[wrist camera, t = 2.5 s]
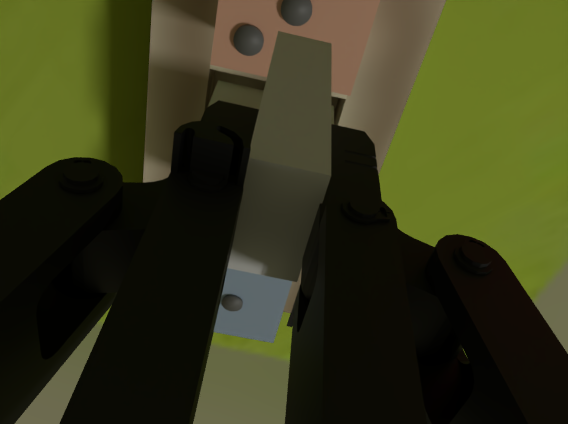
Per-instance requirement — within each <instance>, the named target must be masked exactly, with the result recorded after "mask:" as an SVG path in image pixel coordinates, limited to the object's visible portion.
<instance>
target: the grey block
mask: <svg viewBox="0 0 568 424" xmlns="http://www.w3.org/2000/svg"><path fill="white" fill-rule="evenodd" d="M291 284H292V281H288V280H283V279H278V278H274V277H269V276H264V275H259V274H254V273H249V272H244V271H239V270H234V269H229V268H227V272H226V277H225V282H224V287H223V292H222V296H221V301H220V305H219V310H218V314H217V319H216V323H215V327H214V332H217V333H223V334H228V335H233V336H239V337H244V338H249V339H255V340H260V341H266V342H271V343H273V342H274V339H275V336H276V332H277V329H278V326H279V323H280V320H281V316H282V313H283V310H284V307H285V304H286V300H287V297H288V294H289V291H290V288H291Z"/></svg>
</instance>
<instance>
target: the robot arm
mask: <svg viewBox="0 0 568 424" xmlns="http://www.w3.org/2000/svg"><path fill="white" fill-rule="evenodd" d="M331 79H332V43H327V42H323V41H319V40H315V39H310V38H306V37H302V36H298V35H293V34H289V33H285V32H281V31H278V34H277V38H276V42H275V47H274V51H273V55H272V59H271V63H270V67H269V71H268V75H267V79H266V83H265V88H264V92H263V96H262V100H261V104H260V108H259V109H256V108H251V107H247V106H242V105H238V104H233V103H229V102H224V101H220V100H218V101H217V102H215V103H214V104H212V105H210V106H209V107H207V108H206V109H205V111H204V114H203V116H202V118H201V121H192V122H189V123H186V124H183V125H181V126H180V127H179V128H178V129H177V130H176V131H175V132H174V138H173V149H172V160H171V172H170V174H169V176H168V178H165V179H163V180H159V181H154V182H143V183H123V181H122V175H121V173H120V172H119V171H118V170H117V168H116V167H114V166H112V165H110V164H109V163H107V162H105V161H102V160H97V159H93V158H82V157H80V158H78V157H74V158H69V159H64V160H59V161H57V162H55V163H53V164H51V165H49V166H47V167H45V168H44V169H42V170H41V171H40V172H38V173H37V174H36V175H34V176H33V177H31V178H30V179H29V180H27V181H26V182H24V183H23V184H22V185H20V186H19V187H18V188H16V189H15V190H13V191H12V192H11V193H9V194H8V195H6V196H5V197H4V198H2V199H1V200H0V424H14V423H15V422H16V421H17V420H18V418H19V417H20V416H21V415H22V414H23V413H24V411H25V410H26V409H27V408H28V406H29V405H30V404H31V403H32V402H33V400H34V399H35V398H36V396H37V395H38V394H39V393H40V392H41V391H42V389H43V388H44V387H45V386H46V384H47V383H48V382H49V381H50V380H51V378H52V377H53V376H54V375H55V373H56V372H57V371H58V370H59V368H60V367H61V366H62V365H63V364H64V362H65V361H66V360H67V359H68V358H69V356H70V355H71V354H72V353H73V351H74V350H75V349H76V348H77V346H78V345H79V344H80V343H81V341H83V339H84V338H85V337H86V336H87V334H88V333H89V332H90V331H91V329H92V328H93V327H94V326H95V325H96V323H97V322H98V321H99V320H100V319H101V317H102V316H103V315H104V314H105V312H106V311H107V310H108V309H109V308H110V306H111V305H112V306H111V308H110V310H109V313H108V315H107V317H106V319H105V322H104V324H103V326H102V329H101V331H100V333H99V335H98V338H97V340H96V342H95V345H94V347H93V349H92V352H91V353H90V356H89V358H88V360H87V363H86V365H85V367H84V369H83V372H82V374H81V376H80V378H79V381H78V383H77V385H76V387H75V390H74V392H73V394H72V397H71V399H70V401H69V403H68V406H67V408H66V410H65V412H64V415H63V417H62V419H61V421H60V424H193V421H194V417H195V412H196V408H197V403H198V399H199V394H200V390H201V385H202V381H203V376H204V372H205V368H206V363H207V359H208V354H209V350H210V345H211V341H212V336H213V332H214V327H215V323H216V319H217V314H218V310H219V305H220V301H221V296H222V292H223V287H224V282H225V277H226V272H227V268H229V269H234V270H239V271H244V272H249V273H254V274H259V275H264V276H269V277H274V278H278V279H283V280H288V281H293V282H297V281H298V278H299V275H300V271H301V268H302V272H301V284H300V287H299V290H298V293H297V296H296V299H295V302H294V305H293V308H292V311H291V314H290V317H289V320H288V323H287V326H290V327H292V326H293V329H292V342H291V354H290V368H289V379H288V392H287V404H286V417H285V424H568V354H567V352H566V351H565V349H564V348H563V346H562V345H561V343H560V342H559V340H558V339H557V337H556V336H555V334H554V333H553V331H552V330H551V328H550V327H549V325H548V324H547V322H546V321H545V320H544V318H543V316H542V315H541V314H540V312H539V310H538V309H537V307H536V306H535V304H534V303H533V302H532V300H531V299H530V297H529V296H528V294H527V293H526V291H525V290H524V288H523V287H522V285H521V284H520V282H519V281H518V279H517V278H516V276H515V275H514V273H513V272H512V270H511V269H510V267H509V266H508V264H507V263H506V261H505V260H504V259H503V258H502V257H501V256H500V255H499V253H498V252H497V251H496V250H494V249H493V248H491V247H490V246H488V245H487V244H485V243H484V242H482V241H480V240H477V239H475V238H472V237H469V236H464V235H458V234H456V235H446V236H445V237H443V238H441V239H440V240H439V241H438V243H437V244H436V246H435V247H433V246H430V245H428V244H426V243H423V242H421V241H419V240H417V239H414V238H412V237H411V236H409V235H407V234H405V233H403V232H402V231H400V230H399V229H398V228H397V222H396V218H395V216H394V213H393V211H392V210H391V209H390V208H389V207H388V206H387V205H386V204H385V203H384V202H383V201H382V199H381V191H380V183H379V175H378V170H377V159H376V152H375V144H374V143H373V142H372V140H371V139H370V138H369V136H368V135H367V134H366V132H365V131H361V130H356V129H352V128H348V127H343V126H339V125H334V124H331ZM462 348H463V349H464V351H465V353H466V355H467V357H468V358H467V357H466V355H465V353H464V351H463V349H462Z"/></svg>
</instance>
